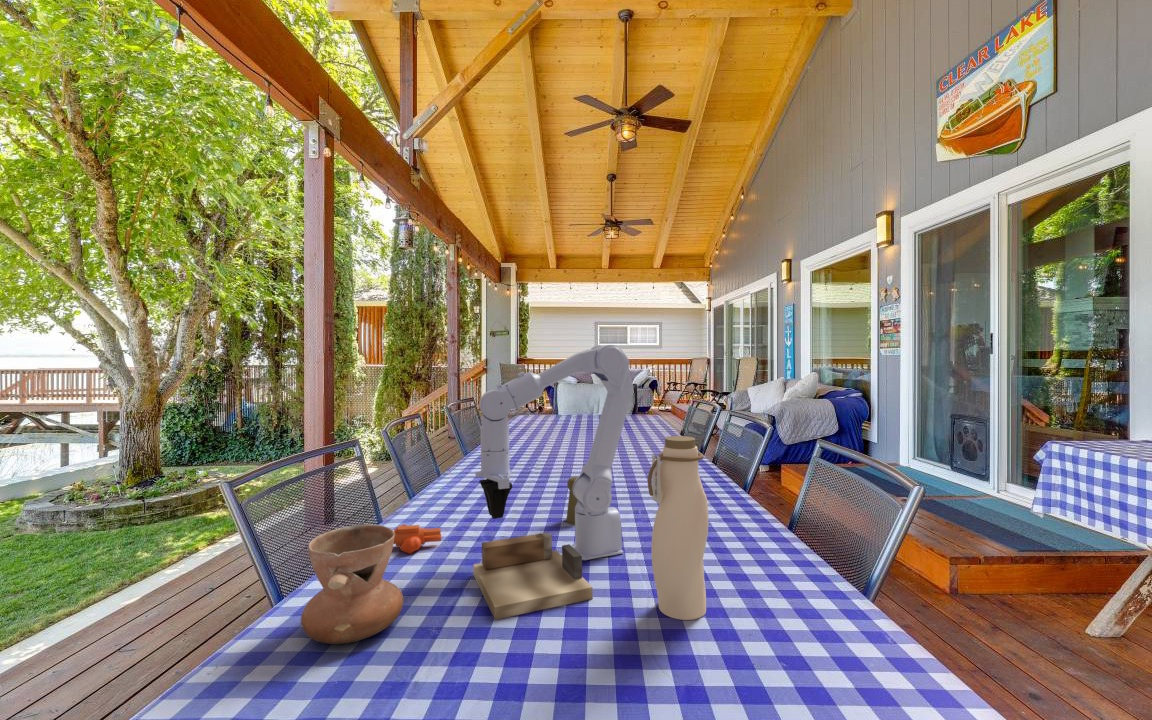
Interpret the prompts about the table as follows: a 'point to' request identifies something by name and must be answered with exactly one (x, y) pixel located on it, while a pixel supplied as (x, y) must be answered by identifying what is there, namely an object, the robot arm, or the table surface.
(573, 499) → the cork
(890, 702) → the table surface
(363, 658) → the table surface
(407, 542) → the orange blocky toy
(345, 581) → the ceramic jug
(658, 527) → the water bottle
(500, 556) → the folding leg
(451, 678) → the table surface
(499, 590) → the board
